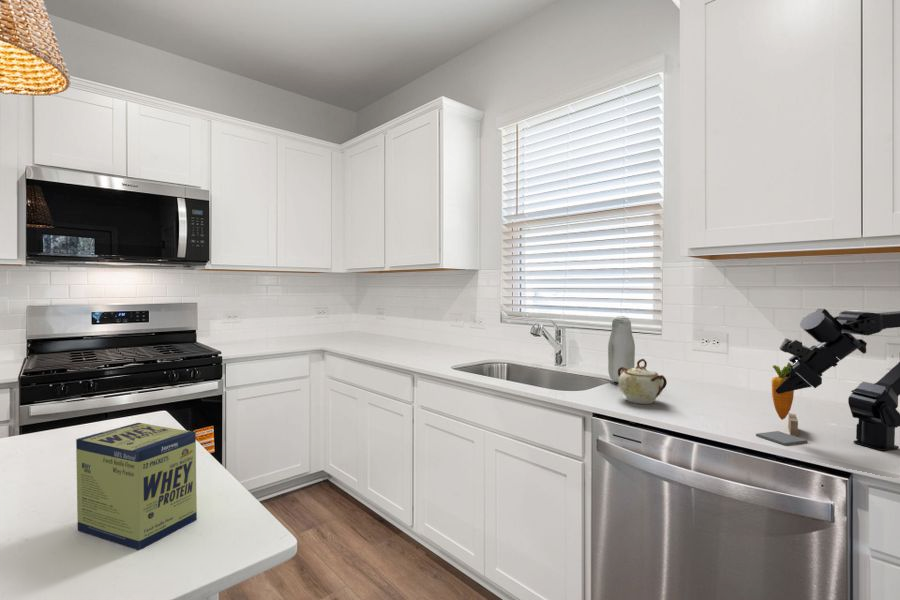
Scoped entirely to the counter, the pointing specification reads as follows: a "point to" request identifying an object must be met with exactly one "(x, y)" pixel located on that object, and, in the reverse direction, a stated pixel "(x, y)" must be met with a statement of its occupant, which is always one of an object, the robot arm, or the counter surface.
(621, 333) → the grey bottle
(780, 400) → the carrot
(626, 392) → the sugar bowl
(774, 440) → the charcoal mat
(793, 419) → the walnut block
